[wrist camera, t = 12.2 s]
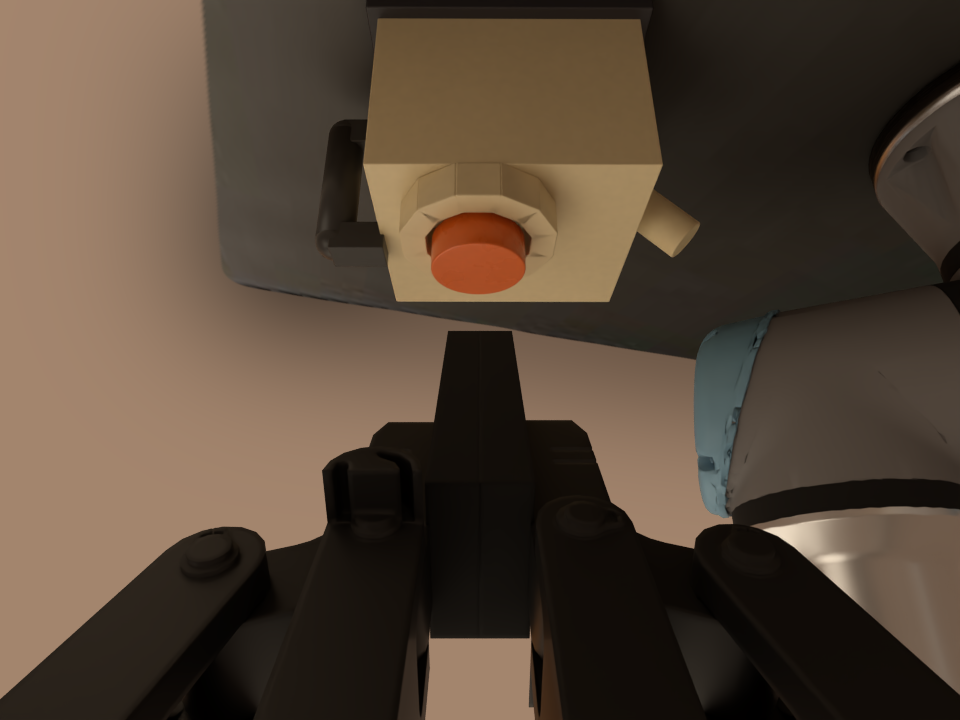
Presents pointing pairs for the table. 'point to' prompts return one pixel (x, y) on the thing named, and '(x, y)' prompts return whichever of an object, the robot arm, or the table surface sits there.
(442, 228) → the button
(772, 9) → the table surface
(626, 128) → the kettle
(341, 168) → the kettle handle and spout
